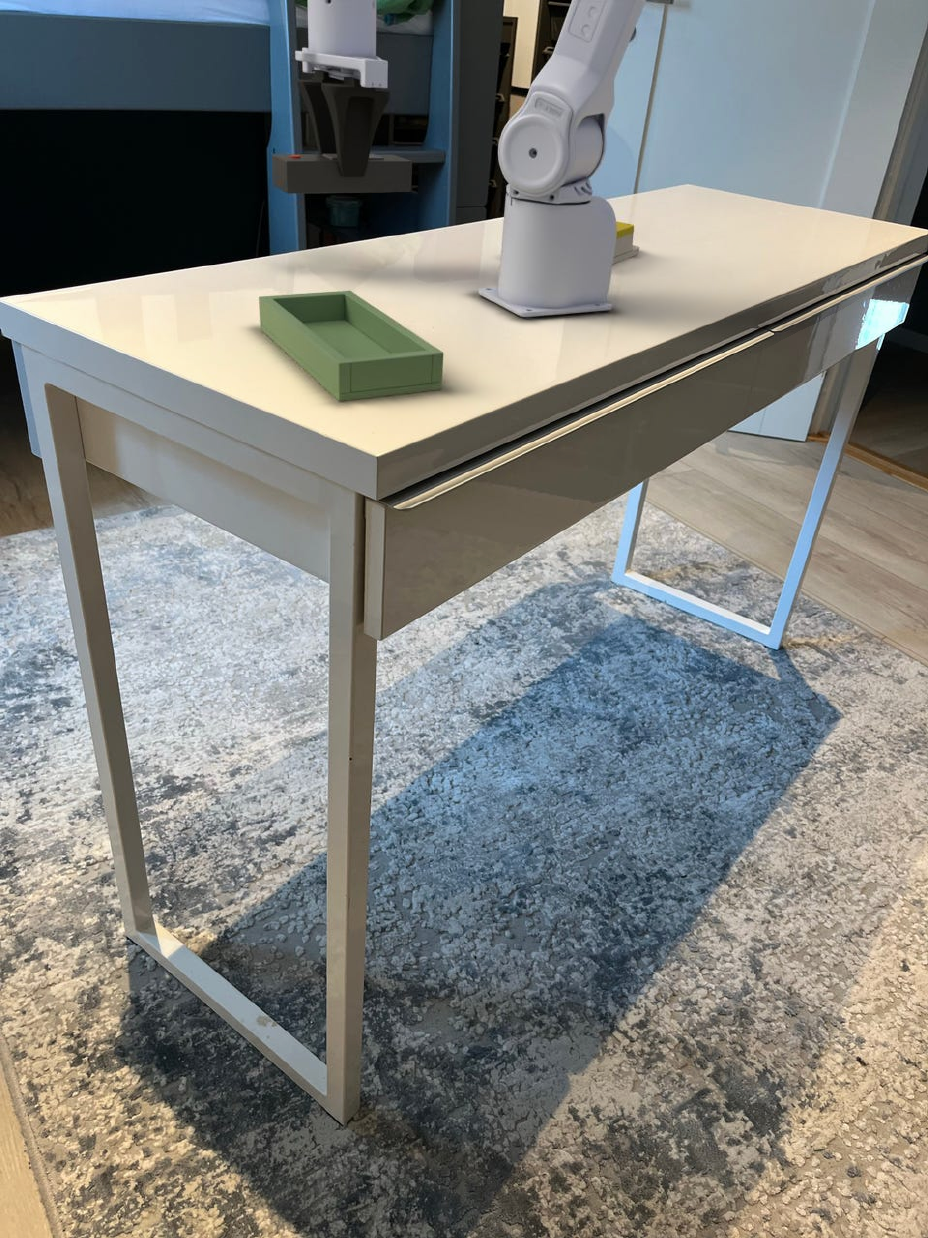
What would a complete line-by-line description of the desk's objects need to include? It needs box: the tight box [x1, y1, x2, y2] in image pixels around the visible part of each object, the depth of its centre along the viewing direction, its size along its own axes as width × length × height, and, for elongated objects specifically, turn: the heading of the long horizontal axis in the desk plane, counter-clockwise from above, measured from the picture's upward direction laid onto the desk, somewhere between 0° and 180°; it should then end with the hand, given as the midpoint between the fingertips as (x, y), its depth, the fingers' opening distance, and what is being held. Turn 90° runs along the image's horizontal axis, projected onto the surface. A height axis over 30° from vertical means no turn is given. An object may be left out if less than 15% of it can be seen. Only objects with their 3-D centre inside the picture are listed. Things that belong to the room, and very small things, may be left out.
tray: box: [258, 290, 444, 402], centre depth 66 cm, size 7×16×2 cm, turn 28°
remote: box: [271, 153, 413, 195], centre depth 84 cm, size 12×4×3 cm, turn 118°
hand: (342, 171), depth 84 cm, fingers closed on remote, 4 cm apart
